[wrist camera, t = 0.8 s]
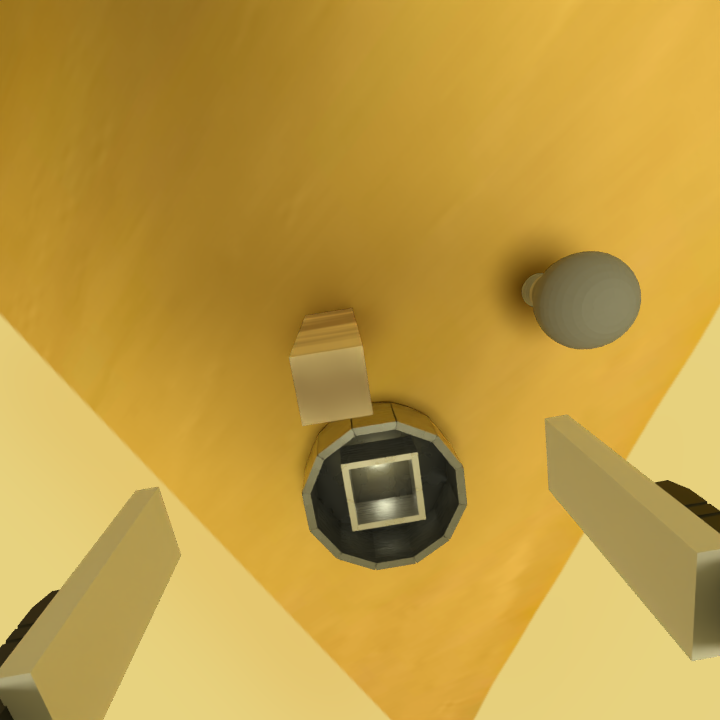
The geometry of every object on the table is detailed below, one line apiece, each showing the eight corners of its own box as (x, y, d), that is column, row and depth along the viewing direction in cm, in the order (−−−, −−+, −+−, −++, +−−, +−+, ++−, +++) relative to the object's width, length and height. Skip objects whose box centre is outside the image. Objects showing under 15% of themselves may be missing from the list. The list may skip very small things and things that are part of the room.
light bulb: (516, 341, 36) (583, 378, 26) (485, 273, 34) (544, 286, 25) (585, 304, 35) (679, 328, 26) (557, 234, 34) (646, 231, 24)
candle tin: (295, 415, 36) (290, 438, 32) (443, 391, 36) (457, 411, 32) (321, 542, 39) (319, 579, 35) (456, 519, 40) (472, 554, 35)
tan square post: (305, 315, 34) (288, 357, 22) (352, 308, 34) (362, 345, 22) (313, 360, 35) (302, 425, 23) (359, 353, 35) (373, 414, 23)
